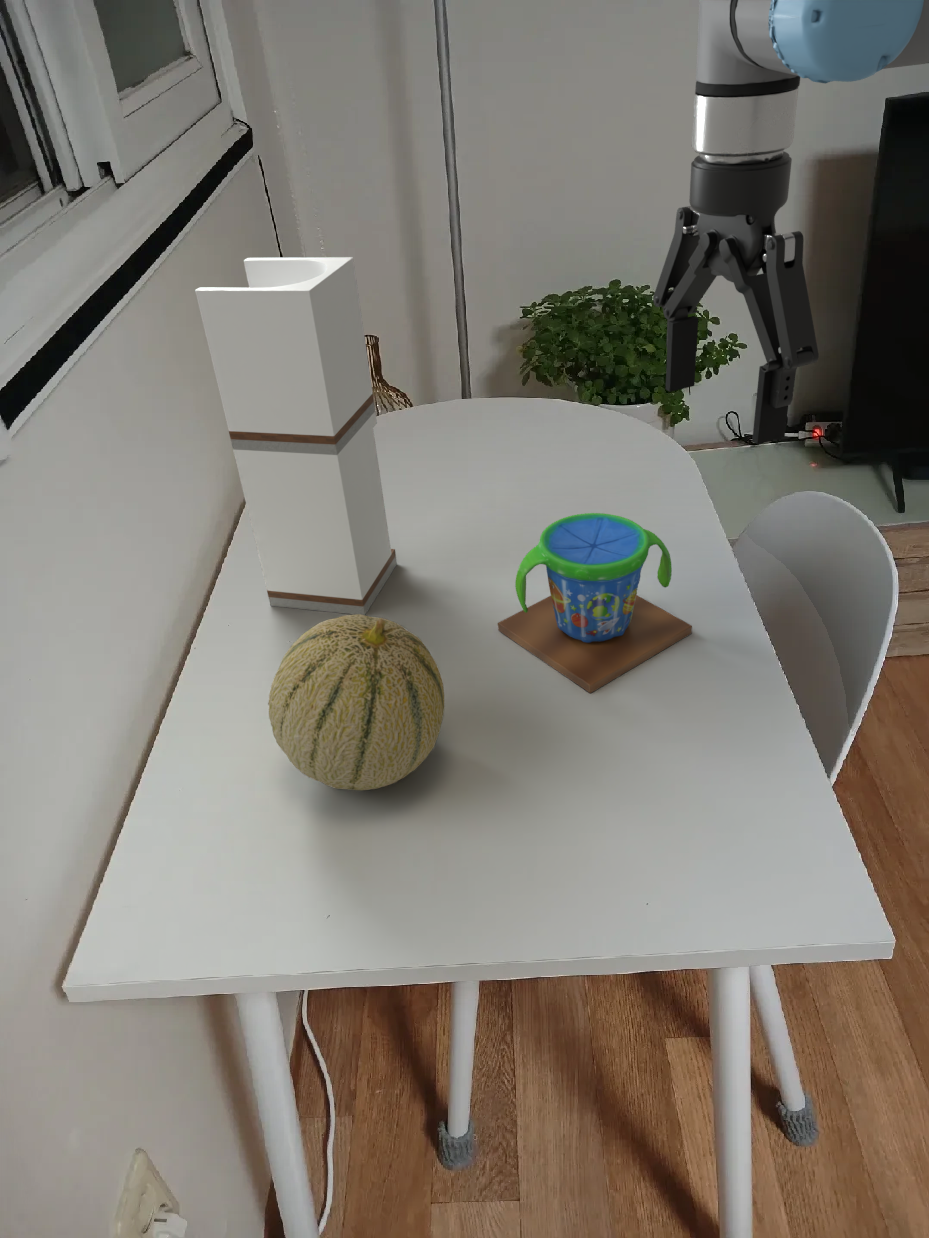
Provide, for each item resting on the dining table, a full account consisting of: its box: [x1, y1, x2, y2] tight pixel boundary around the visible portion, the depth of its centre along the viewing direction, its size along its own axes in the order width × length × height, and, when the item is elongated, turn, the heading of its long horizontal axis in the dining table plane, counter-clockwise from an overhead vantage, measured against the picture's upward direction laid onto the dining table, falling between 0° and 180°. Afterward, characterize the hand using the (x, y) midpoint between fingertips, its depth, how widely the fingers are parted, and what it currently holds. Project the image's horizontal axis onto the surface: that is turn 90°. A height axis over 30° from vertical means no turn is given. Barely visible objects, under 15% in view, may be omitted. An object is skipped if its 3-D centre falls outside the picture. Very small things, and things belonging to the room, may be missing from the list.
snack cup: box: [514, 512, 673, 643], centre depth 95 cm, size 16×10×10 cm
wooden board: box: [497, 594, 693, 694], centre depth 98 cm, size 14×14×1 cm
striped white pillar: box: [194, 256, 398, 616], centre depth 100 cm, size 11×11×35 cm
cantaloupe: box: [267, 614, 446, 791], centre depth 80 cm, size 15×15×15 cm
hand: (721, 412), depth 86 cm, fingers open, 13 cm apart
